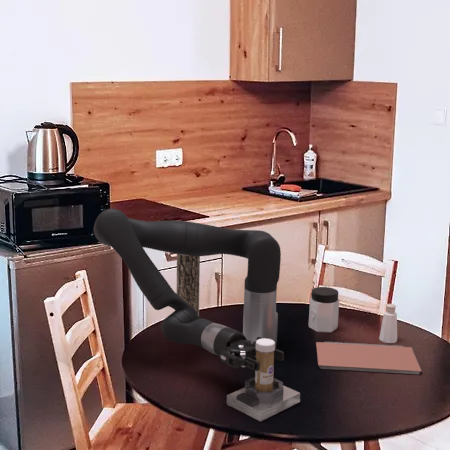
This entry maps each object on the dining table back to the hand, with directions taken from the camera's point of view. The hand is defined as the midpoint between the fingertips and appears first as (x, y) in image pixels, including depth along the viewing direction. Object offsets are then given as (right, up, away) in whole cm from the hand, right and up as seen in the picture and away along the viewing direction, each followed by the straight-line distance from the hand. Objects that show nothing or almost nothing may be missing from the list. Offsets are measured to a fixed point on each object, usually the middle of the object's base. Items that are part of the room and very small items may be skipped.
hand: (271, 361), depth 165 cm
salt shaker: (+38, -2, +44) cm, 58 cm away
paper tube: (-22, 0, +48) cm, 53 cm away
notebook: (+28, -6, +31) cm, 42 cm away
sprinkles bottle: (-2, -9, +4) cm, 9 cm away
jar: (+19, 0, +53) cm, 56 cm away
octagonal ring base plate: (-2, -11, +4) cm, 12 cm away
